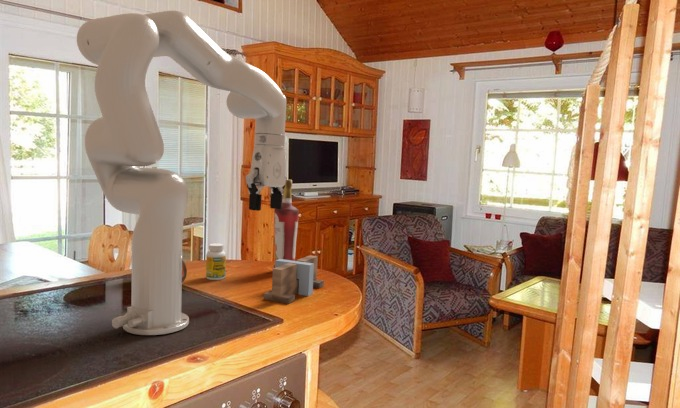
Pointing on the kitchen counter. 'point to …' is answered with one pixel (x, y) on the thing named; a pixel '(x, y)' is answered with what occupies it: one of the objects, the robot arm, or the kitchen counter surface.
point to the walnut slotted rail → (289, 281)
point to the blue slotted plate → (301, 275)
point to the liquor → (286, 226)
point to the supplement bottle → (216, 262)
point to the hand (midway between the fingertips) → (265, 209)
